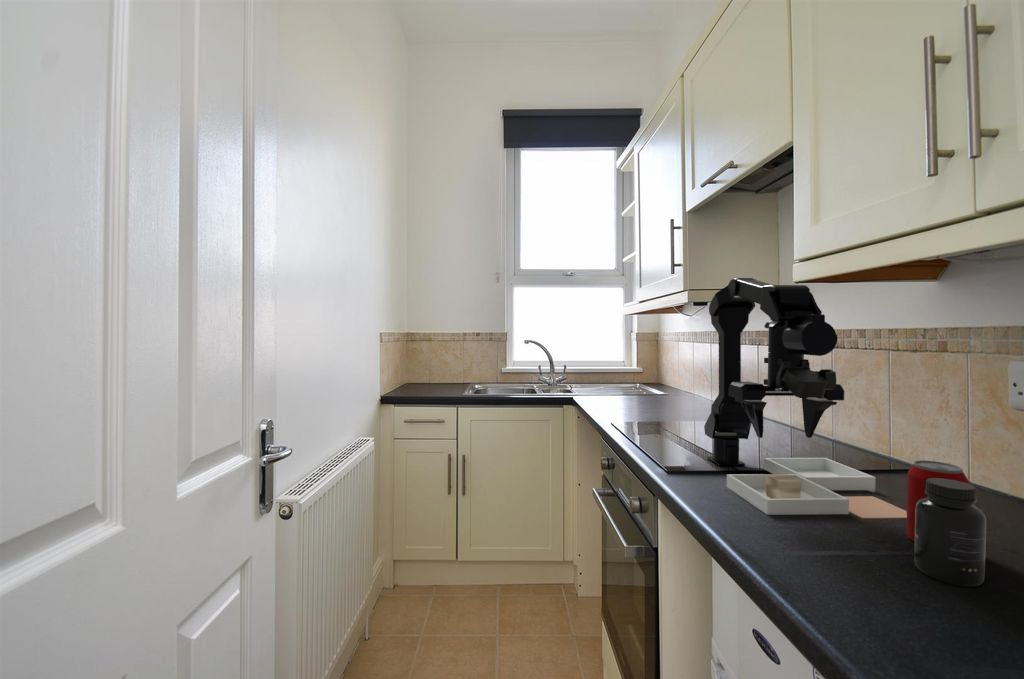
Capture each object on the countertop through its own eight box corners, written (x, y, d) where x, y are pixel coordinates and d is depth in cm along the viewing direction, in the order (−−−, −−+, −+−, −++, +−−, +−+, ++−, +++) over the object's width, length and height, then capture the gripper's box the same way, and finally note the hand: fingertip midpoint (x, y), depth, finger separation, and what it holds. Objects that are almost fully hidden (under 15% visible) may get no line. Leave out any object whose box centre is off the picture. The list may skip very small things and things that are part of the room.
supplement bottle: (901, 560, 66) (903, 474, 65) (954, 562, 65) (956, 476, 65) (940, 586, 59) (942, 490, 59) (1001, 590, 58) (1003, 493, 58)
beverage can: (949, 539, 72) (951, 461, 72) (979, 559, 66) (981, 474, 66) (897, 533, 74) (898, 457, 74) (921, 553, 68) (923, 469, 67)
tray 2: (763, 471, 107) (764, 457, 107) (825, 470, 107) (825, 457, 107) (804, 492, 93) (805, 477, 93) (875, 492, 93) (875, 477, 93)
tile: (821, 499, 89) (821, 496, 89) (873, 499, 89) (873, 496, 89) (862, 521, 79) (862, 517, 79) (920, 520, 79) (920, 517, 79)
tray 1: (726, 489, 95) (726, 474, 94) (796, 488, 95) (796, 474, 95) (767, 517, 80) (767, 499, 80) (848, 516, 81) (849, 499, 81)
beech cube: (766, 495, 90) (766, 474, 90) (786, 495, 90) (787, 474, 90) (778, 503, 86) (779, 481, 86) (800, 503, 86) (800, 481, 86)
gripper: (760, 355, 79) (758, 448, 79) (869, 355, 79) (867, 448, 80) (727, 352, 90) (726, 433, 90) (823, 352, 91) (822, 433, 91)
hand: (784, 437), depth 87 cm, fingers open, 9 cm apart
